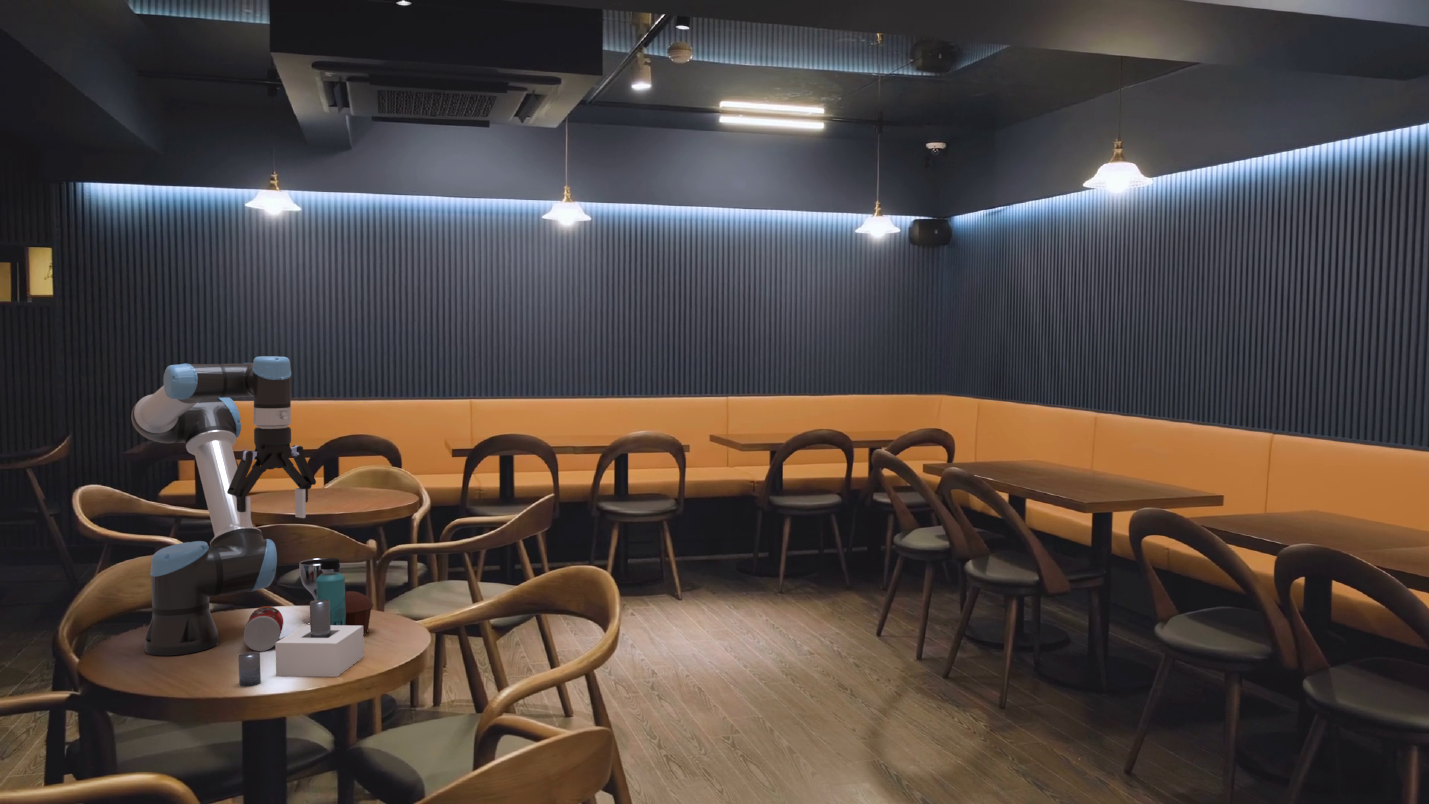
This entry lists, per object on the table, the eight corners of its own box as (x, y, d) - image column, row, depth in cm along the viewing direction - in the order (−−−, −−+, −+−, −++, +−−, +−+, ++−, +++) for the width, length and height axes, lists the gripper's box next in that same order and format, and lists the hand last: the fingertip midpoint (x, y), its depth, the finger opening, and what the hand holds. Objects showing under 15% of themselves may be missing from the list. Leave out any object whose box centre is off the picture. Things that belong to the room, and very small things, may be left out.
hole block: (276, 675, 214) (275, 642, 214) (306, 656, 228) (305, 625, 228) (337, 676, 213) (336, 643, 213) (363, 656, 227) (363, 625, 227)
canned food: (280, 601, 243) (276, 612, 232) (286, 634, 243) (283, 646, 233) (245, 609, 240) (239, 621, 230) (252, 642, 241) (247, 655, 231)
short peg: (235, 686, 207) (234, 657, 207) (245, 680, 211) (244, 651, 211) (254, 686, 207) (253, 657, 207) (264, 680, 211) (263, 651, 211)
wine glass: (307, 626, 253) (306, 566, 252) (296, 620, 259) (294, 561, 258) (339, 620, 258) (338, 561, 257) (327, 614, 264) (326, 557, 263)
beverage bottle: (334, 650, 232) (332, 562, 232) (310, 647, 235) (308, 560, 234) (353, 642, 239) (351, 557, 238) (329, 640, 241) (328, 555, 240)
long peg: (308, 668, 219) (306, 603, 218) (316, 663, 223) (314, 599, 222) (326, 668, 219) (324, 603, 218) (334, 663, 223) (332, 599, 222)
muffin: (314, 640, 240) (313, 598, 240) (331, 628, 251) (330, 587, 251) (365, 640, 240) (365, 598, 240) (380, 627, 252) (379, 587, 251)
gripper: (230, 432, 213) (231, 532, 215) (331, 423, 235) (332, 515, 236) (208, 429, 217) (210, 528, 219) (310, 421, 239) (311, 511, 240)
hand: (273, 522), depth 228 cm, fingers open, 13 cm apart
